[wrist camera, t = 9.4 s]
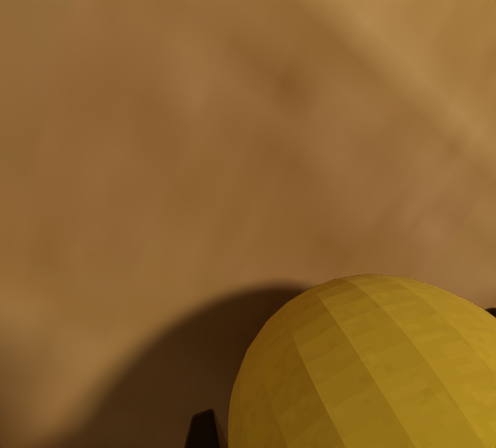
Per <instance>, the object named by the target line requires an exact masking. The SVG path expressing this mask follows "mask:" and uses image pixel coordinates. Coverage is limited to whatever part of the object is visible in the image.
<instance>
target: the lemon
mask: <svg viewBox="0 0 496 448" xmlns="http://www.w3.org/2000/svg"><path fill="white" fill-rule="evenodd" d="M227 448H496V318H495V317H494V316H492V315H491V314H490V313H488V312H487V311H485V310H483V309H482V308H480V307H478V306H476V305H475V304H473V303H471V302H470V301H468V300H466V299H464V298H461V297H459V296H457V295H455V294H453V293H451V292H448V291H445V290H443V289H440V288H437V287H435V286H432V285H430V284H427V283H424V282H421V281H418V280H415V279H411V278H406V277H398V276H388V275H375V274H365V275H356V276H350V277H344V278H338V279H333V280H331V281H328V282H326V283H323V284H320V285H318V286H315V287H312V288H310V289H308V290H306V291H305V292H303V293H302V294H300V295H298V296H297V297H295V298H293V299H292V300H290V301H289V302H287V303H286V304H285V305H284V306H282V307H281V308H280V309H279V310H278V311H277V312H276V313H275V314H274V315H273V316H272V317H271V318H270V319H269V320H267V322H266V323H265V325H264V326H263V328H262V329H261V330H260V332H259V333H258V335H257V336H256V338H255V339H254V340H253V342H252V343H251V345H250V346H249V348H248V349H247V351H246V354H245V357H244V359H243V362H242V364H241V367H240V370H239V372H238V375H237V378H236V380H235V383H234V385H233V389H232V394H231V399H230V405H229V418H228V443H227Z"/></svg>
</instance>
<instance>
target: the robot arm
mask: <svg viewBox="0 0 496 448" xmlns="http://www.w3.org/2000/svg"><path fill="white" fill-rule="evenodd" d="M485 311H487V312H488V313H490V314H491V315H492V316H494V317H495V318H496V308H488V309H485ZM184 448H227V443H226V440H225V437H224V434H223V431H222V429H221V426H220V424H219V421H218V419H217V416H216V414H215V412H214V410H213V409H208V410H205V411H203V412H200V413H197V414H195V415H194V416H193V417H192V420H191V423H190V427H189V431H188V435H187V439H186V443H185V447H184Z"/></svg>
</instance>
